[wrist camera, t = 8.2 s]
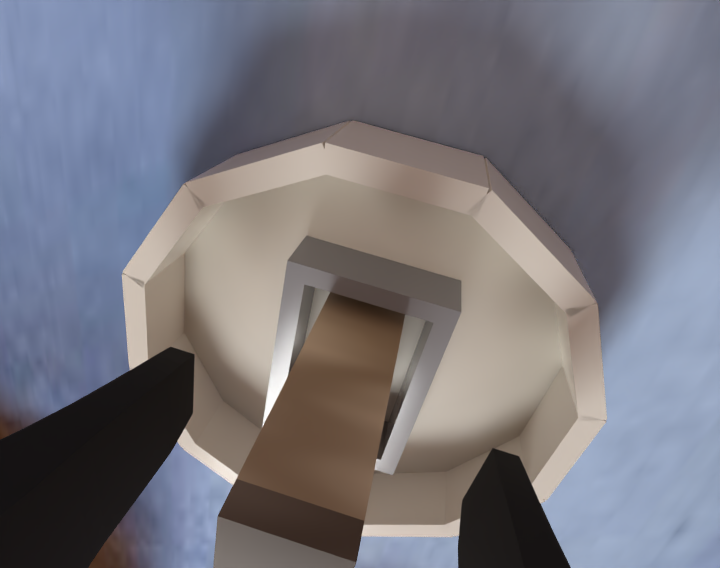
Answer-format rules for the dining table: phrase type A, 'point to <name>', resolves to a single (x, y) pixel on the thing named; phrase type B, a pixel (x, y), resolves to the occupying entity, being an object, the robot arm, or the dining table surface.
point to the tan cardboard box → (316, 448)
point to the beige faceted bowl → (384, 289)
